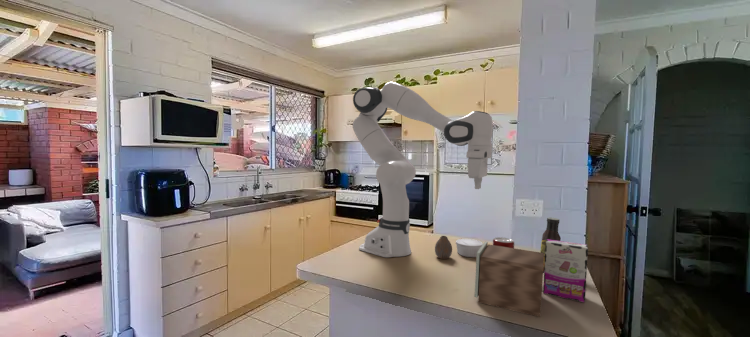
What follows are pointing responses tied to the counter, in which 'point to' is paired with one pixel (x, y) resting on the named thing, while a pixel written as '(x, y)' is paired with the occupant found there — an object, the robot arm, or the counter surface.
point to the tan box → (511, 279)
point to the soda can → (503, 242)
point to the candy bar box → (565, 270)
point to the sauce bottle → (550, 234)
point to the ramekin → (468, 247)
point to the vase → (443, 248)
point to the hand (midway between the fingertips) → (477, 188)
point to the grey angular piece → (479, 268)
